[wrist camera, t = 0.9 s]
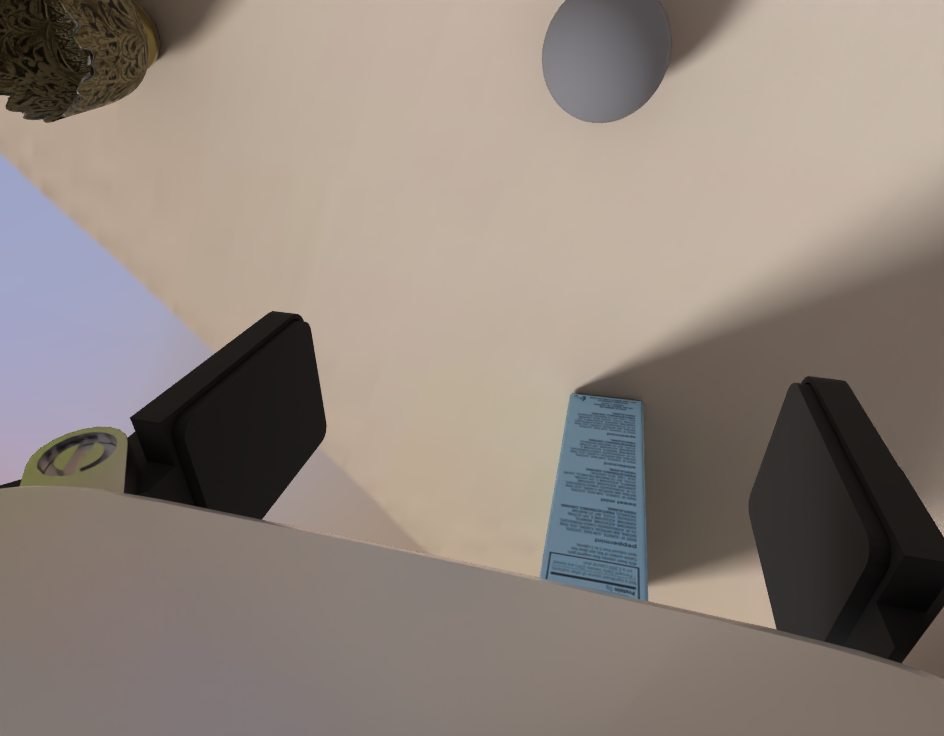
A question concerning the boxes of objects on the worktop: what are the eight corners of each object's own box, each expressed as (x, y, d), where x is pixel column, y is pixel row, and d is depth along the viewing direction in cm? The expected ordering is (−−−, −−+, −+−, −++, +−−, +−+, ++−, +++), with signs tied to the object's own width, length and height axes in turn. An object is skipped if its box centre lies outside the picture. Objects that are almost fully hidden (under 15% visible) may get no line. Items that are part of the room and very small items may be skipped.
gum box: (570, 390, 37) (497, 772, 18) (650, 399, 35) (664, 818, 16) (555, 583, 46) (498, 961, 28) (617, 595, 45) (602, 999, 26)
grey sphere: (657, -38, 24) (661, -56, 20) (677, 93, 27) (685, 105, 22) (537, 11, 26) (516, 6, 22) (566, 130, 29) (552, 147, 24)
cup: (76, -69, 30) (-85, -99, 23) (198, -14, 30) (71, -29, 23) (84, 77, 34) (-50, 86, 27) (191, 125, 34) (82, 147, 27)
